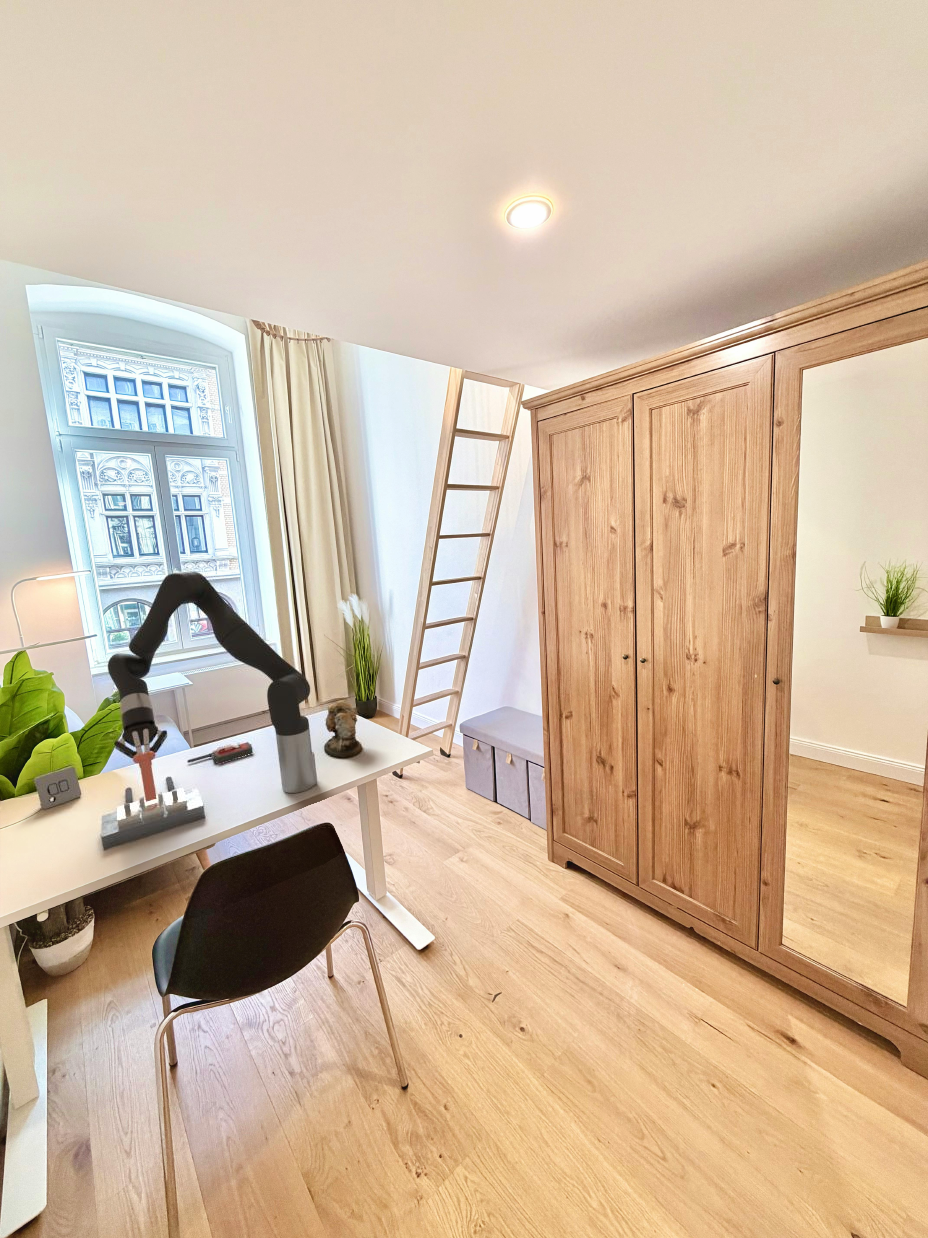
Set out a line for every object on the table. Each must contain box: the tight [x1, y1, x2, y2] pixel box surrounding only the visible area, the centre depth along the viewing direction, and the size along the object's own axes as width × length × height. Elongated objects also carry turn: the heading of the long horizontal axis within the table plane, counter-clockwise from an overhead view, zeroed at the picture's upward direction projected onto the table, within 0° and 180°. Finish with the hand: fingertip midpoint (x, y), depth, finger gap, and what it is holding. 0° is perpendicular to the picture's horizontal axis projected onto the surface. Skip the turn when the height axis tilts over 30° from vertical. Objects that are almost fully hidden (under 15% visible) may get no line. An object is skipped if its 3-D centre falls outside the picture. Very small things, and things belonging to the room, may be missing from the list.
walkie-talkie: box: [186, 741, 254, 765], centre depth 169 cm, size 9×4×20 cm
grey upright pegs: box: [125, 776, 175, 804], centre depth 144 cm, size 13×20×3 cm, turn 35°
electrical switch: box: [33, 766, 82, 810], centre depth 145 cm, size 9×5×9 cm, turn 141°
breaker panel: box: [100, 788, 206, 851], centre depth 130 cm, size 22×12×8 cm, turn 125°
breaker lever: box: [132, 751, 157, 802], centre depth 130 cm, size 5×2×12 cm, turn 125°
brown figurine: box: [323, 700, 363, 759], centre depth 171 cm, size 18×12×17 cm, turn 38°
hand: (146, 768), depth 134 cm, fingers closed
